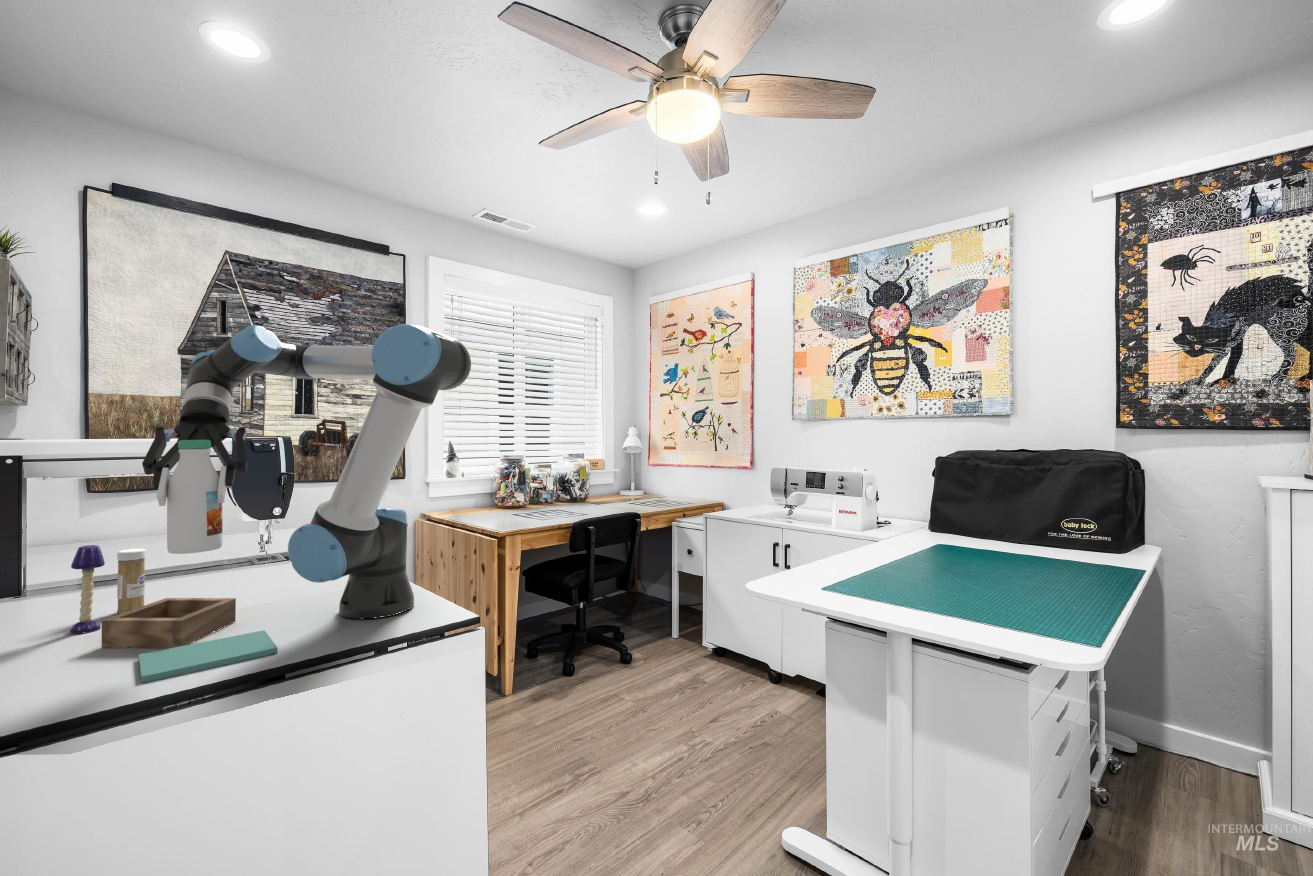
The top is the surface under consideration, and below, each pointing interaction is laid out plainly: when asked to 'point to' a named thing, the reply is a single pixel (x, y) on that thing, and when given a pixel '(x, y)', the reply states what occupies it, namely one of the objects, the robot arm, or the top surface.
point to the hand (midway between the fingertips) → (191, 499)
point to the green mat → (204, 655)
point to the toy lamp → (87, 585)
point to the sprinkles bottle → (130, 579)
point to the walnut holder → (168, 622)
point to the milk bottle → (194, 501)
